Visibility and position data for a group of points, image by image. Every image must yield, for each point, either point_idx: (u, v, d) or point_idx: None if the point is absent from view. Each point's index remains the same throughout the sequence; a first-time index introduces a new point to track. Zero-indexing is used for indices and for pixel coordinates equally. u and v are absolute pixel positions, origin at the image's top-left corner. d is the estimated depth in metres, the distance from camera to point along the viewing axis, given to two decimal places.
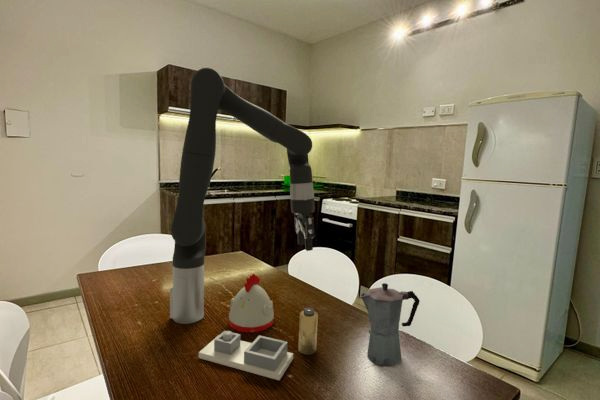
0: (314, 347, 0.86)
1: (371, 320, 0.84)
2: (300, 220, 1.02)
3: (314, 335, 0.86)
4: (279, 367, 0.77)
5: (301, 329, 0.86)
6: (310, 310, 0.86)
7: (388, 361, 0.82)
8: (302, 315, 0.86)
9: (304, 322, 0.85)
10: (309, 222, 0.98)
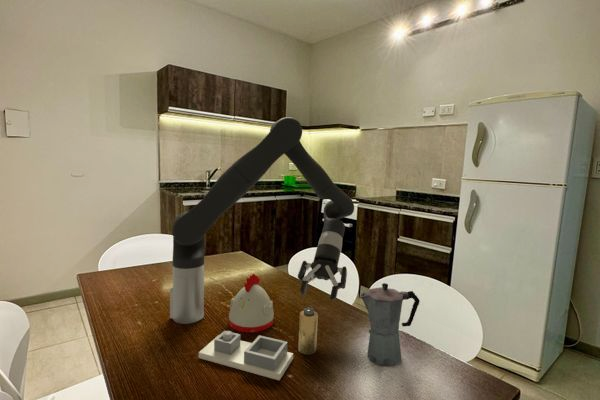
0: (314, 347, 0.86)
1: (371, 320, 0.84)
2: (329, 267, 0.97)
3: (314, 335, 0.86)
4: (279, 367, 0.77)
5: (300, 329, 0.86)
6: (310, 310, 0.86)
7: (388, 361, 0.82)
8: (302, 315, 0.86)
9: (304, 322, 0.85)
10: (346, 272, 0.97)
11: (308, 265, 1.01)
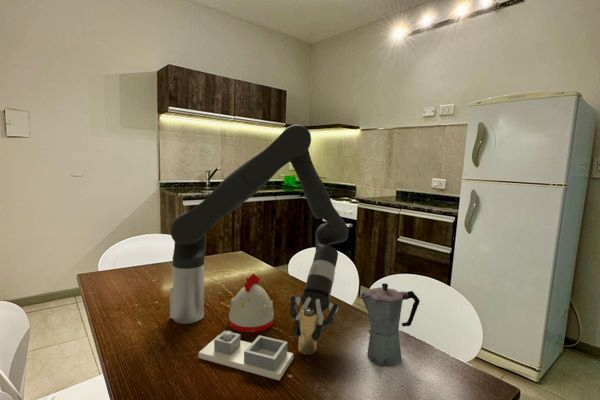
0: (314, 347, 0.86)
1: (371, 320, 0.84)
2: (320, 301, 0.90)
3: None
4: (279, 367, 0.77)
5: (300, 329, 0.86)
6: (310, 310, 0.86)
7: (388, 361, 0.82)
8: (302, 315, 0.86)
9: (304, 322, 0.85)
10: (336, 310, 0.89)
11: (297, 299, 0.92)
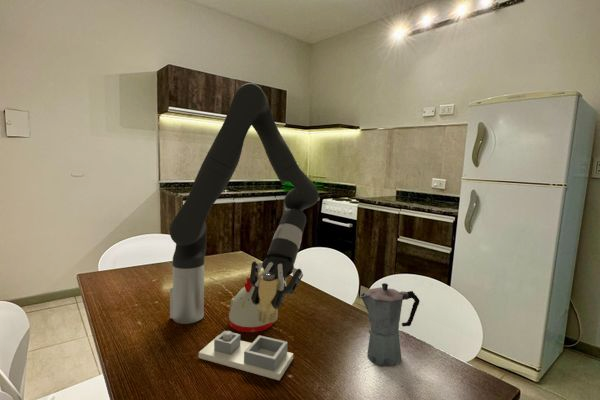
0: (274, 315, 0.78)
1: (371, 320, 0.84)
2: (282, 266, 0.81)
3: None
4: (279, 367, 0.77)
5: (259, 295, 0.78)
6: (270, 274, 0.78)
7: (388, 361, 0.82)
8: (261, 279, 0.78)
9: (262, 287, 0.77)
10: (300, 276, 0.80)
11: (259, 265, 0.84)
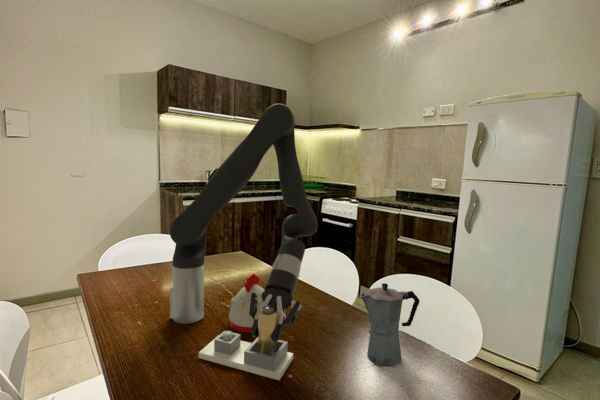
0: (274, 348, 0.79)
1: (371, 320, 0.84)
2: (281, 299, 0.82)
3: None
4: (279, 367, 0.77)
5: (258, 329, 0.79)
6: (269, 308, 0.79)
7: (388, 361, 0.82)
8: (261, 313, 0.79)
9: (262, 322, 0.78)
10: (299, 308, 0.81)
11: (258, 297, 0.85)
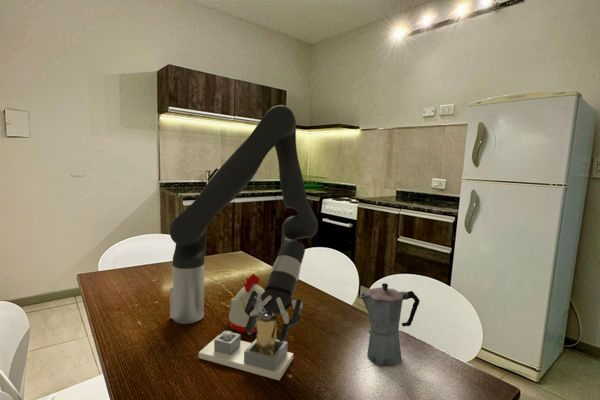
0: (272, 355, 0.79)
1: (371, 320, 0.84)
2: (281, 299, 0.82)
3: (272, 342, 0.79)
4: (279, 367, 0.77)
5: (257, 336, 0.79)
6: (268, 315, 0.79)
7: (388, 361, 0.82)
8: (259, 320, 0.79)
9: (260, 328, 0.78)
10: (301, 306, 0.82)
11: (258, 296, 0.86)
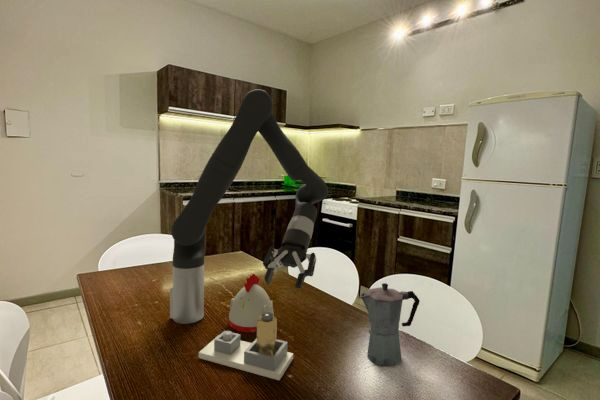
0: (273, 355, 0.79)
1: (371, 320, 0.84)
2: (296, 253, 0.90)
3: (273, 342, 0.79)
4: (279, 367, 0.77)
5: (258, 336, 0.79)
6: (268, 315, 0.79)
7: (388, 361, 0.82)
8: (260, 320, 0.79)
9: (261, 329, 0.78)
10: (315, 258, 0.89)
11: (275, 251, 0.93)
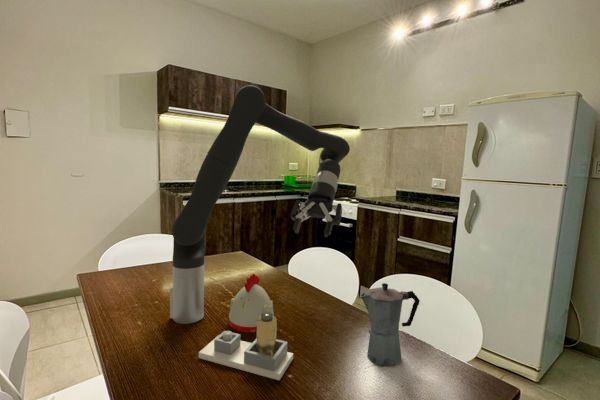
0: (272, 355, 0.79)
1: (371, 320, 0.84)
2: (323, 204, 0.93)
3: (272, 342, 0.79)
4: (279, 367, 0.77)
5: (257, 336, 0.79)
6: (268, 315, 0.79)
7: (388, 361, 0.82)
8: (259, 320, 0.79)
9: (260, 328, 0.78)
10: (341, 209, 0.92)
11: (302, 204, 0.96)
